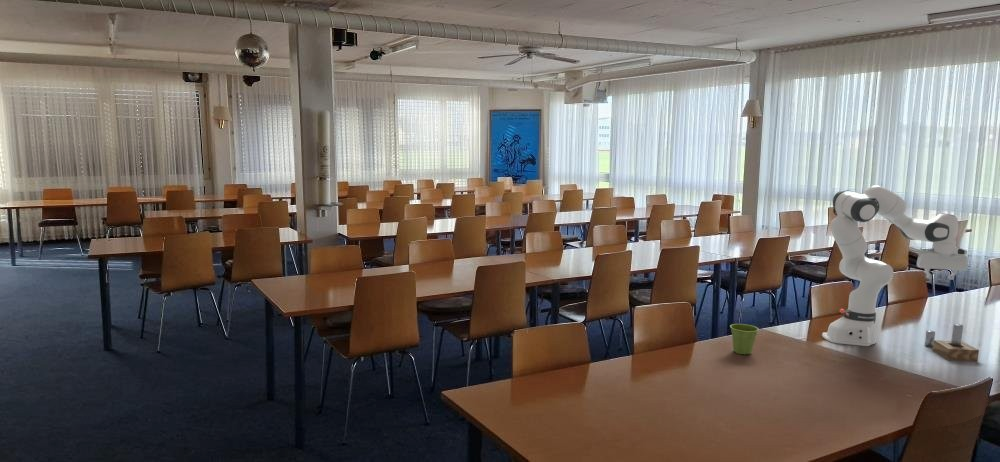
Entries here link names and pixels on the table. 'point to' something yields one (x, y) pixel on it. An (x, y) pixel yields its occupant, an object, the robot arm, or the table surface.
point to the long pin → (957, 335)
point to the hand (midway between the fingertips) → (939, 278)
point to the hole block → (955, 351)
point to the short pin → (929, 338)
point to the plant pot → (743, 337)
